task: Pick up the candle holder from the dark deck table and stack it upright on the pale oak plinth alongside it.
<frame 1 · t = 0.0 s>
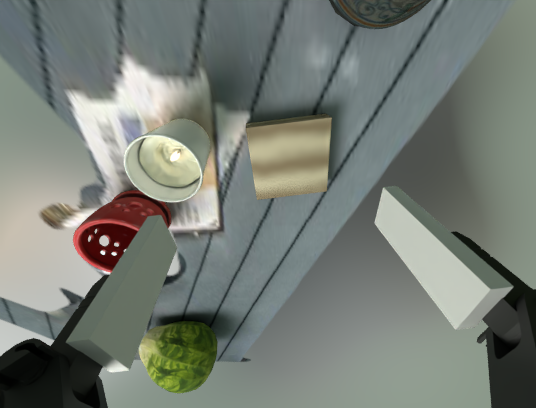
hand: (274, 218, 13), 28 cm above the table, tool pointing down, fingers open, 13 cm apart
lettuce: (186, 322, 72), on the table
candle holder: (187, 142, 38), on the table
plant pot: (146, 208, 45), on the table
plinth: (288, 156, 40), on the table
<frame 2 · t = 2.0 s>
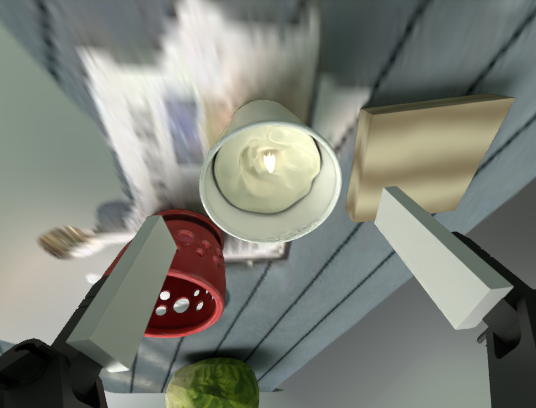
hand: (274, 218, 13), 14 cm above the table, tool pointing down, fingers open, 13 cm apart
lettuce: (217, 357, 60), on the table
candle holder: (263, 138, 24), on the table
plant pot: (188, 232, 32), on the table
plinth: (405, 160, 27), on the table
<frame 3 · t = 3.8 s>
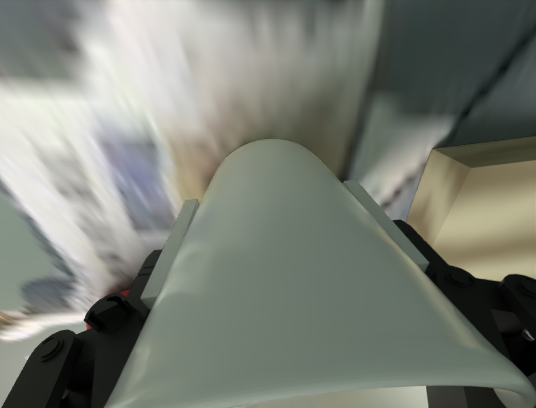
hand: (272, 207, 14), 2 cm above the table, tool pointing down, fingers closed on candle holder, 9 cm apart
candle holder: (270, 193, 15), on the table, touching gripper
plinth: (484, 217, 18), on the table
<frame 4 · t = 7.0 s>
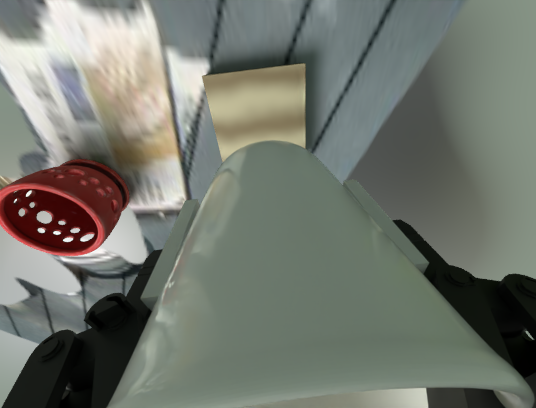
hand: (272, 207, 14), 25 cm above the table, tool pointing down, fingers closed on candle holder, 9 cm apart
candle holder: (270, 194, 15), point 23 cm above the table, touching gripper
plant pot: (100, 183, 39), on the table
plinth: (259, 119, 34), on the table
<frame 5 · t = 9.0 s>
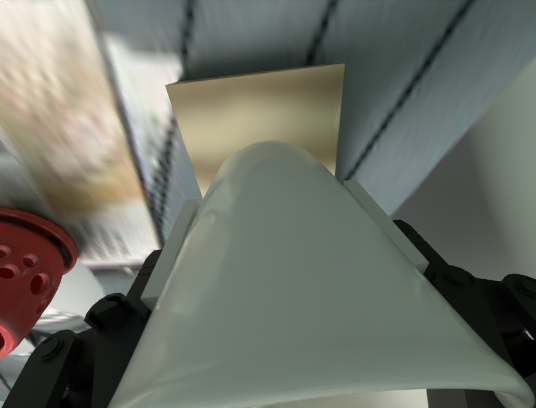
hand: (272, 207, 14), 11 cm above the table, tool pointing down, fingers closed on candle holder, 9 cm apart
candle holder: (270, 194, 15), point 9 cm above the table, touching gripper
plant pot: (35, 235, 27), on the table
plinth: (263, 148, 23), on the table
when the fingers open (6 cm above the table, at t = 10.4 s): candle holder drops 1 cm, resting on plinth.
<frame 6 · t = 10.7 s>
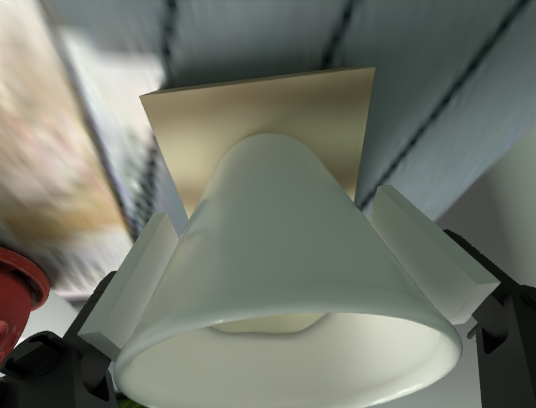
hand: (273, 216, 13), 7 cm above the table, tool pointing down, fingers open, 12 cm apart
lettuce: (135, 397, 51), on the table
candle holder: (268, 184, 16), point 3 cm above the table, touching plinth
plinth: (266, 168, 19), on the table
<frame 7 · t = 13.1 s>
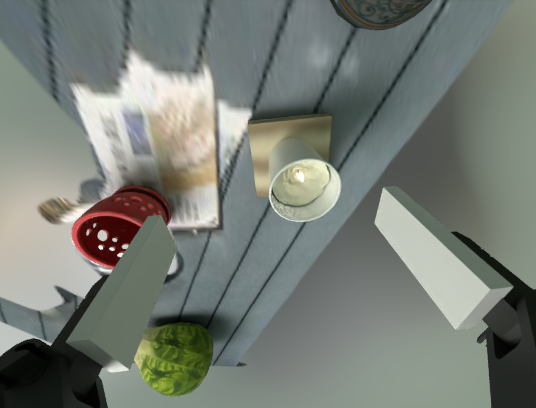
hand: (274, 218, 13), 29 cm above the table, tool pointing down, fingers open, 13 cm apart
lettuce: (182, 324, 71), on the table
candle holder: (290, 160, 38), point 3 cm above the table, touching plinth
plant pot: (146, 205, 45), on the table
plinth: (288, 154, 41), on the table
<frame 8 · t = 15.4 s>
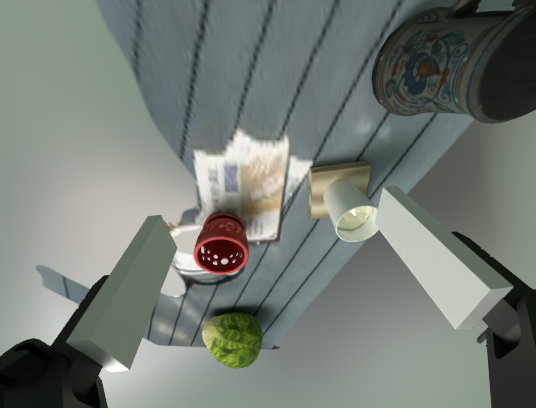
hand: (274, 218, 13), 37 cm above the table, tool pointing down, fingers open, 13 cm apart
lettuce: (233, 314, 88), on the table
candle holder: (338, 194, 53), point 3 cm above the table, touching plinth
plant pot: (225, 225, 60), on the table
plinth: (335, 188, 56), on the table
beer stein: (408, 60, 40), on the table
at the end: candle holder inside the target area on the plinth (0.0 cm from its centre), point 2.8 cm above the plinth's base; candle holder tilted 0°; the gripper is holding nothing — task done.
